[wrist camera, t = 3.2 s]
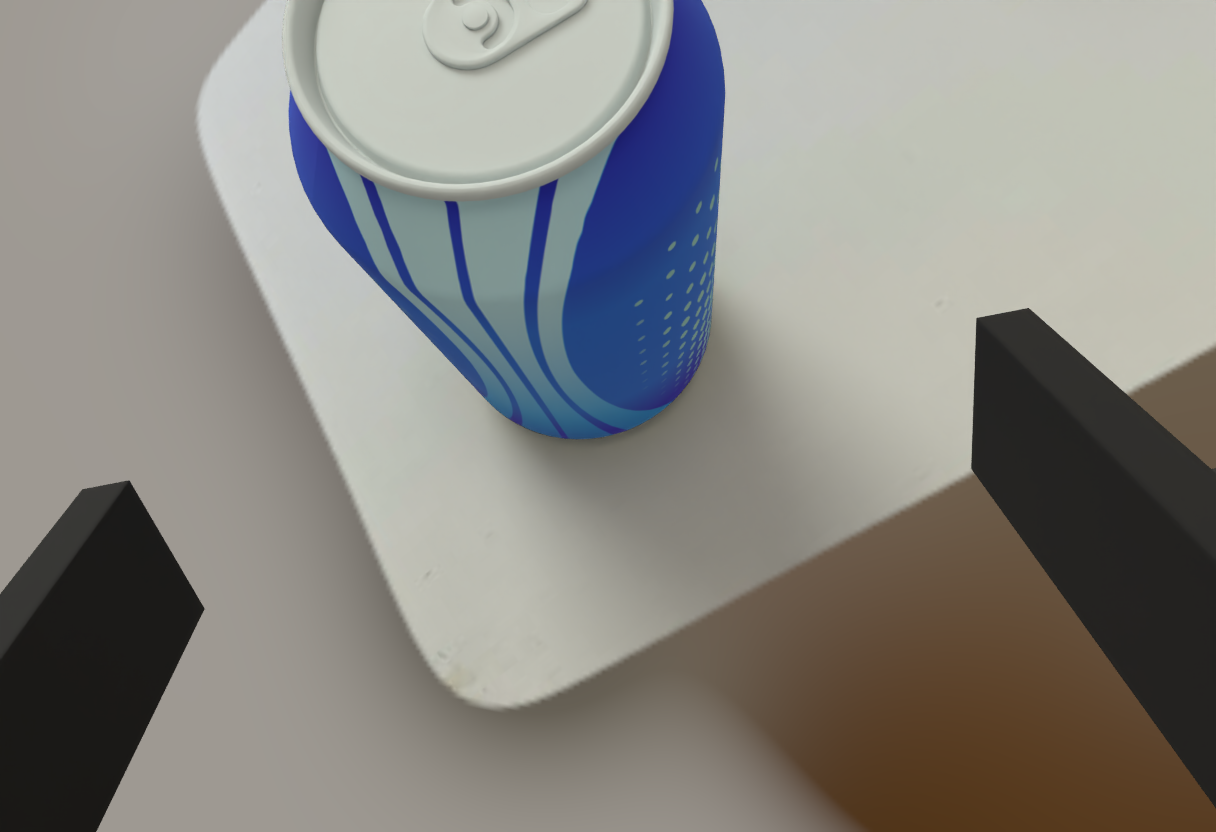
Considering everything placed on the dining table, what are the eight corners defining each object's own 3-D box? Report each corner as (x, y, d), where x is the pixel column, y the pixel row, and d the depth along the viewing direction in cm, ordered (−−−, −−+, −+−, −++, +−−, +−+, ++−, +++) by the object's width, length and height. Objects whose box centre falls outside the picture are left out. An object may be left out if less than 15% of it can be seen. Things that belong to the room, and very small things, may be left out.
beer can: (697, 460, 28) (701, 270, 13) (447, 433, 29) (175, 226, 14) (722, 223, 30) (753, -195, 15) (486, 204, 31) (284, -204, 16)
